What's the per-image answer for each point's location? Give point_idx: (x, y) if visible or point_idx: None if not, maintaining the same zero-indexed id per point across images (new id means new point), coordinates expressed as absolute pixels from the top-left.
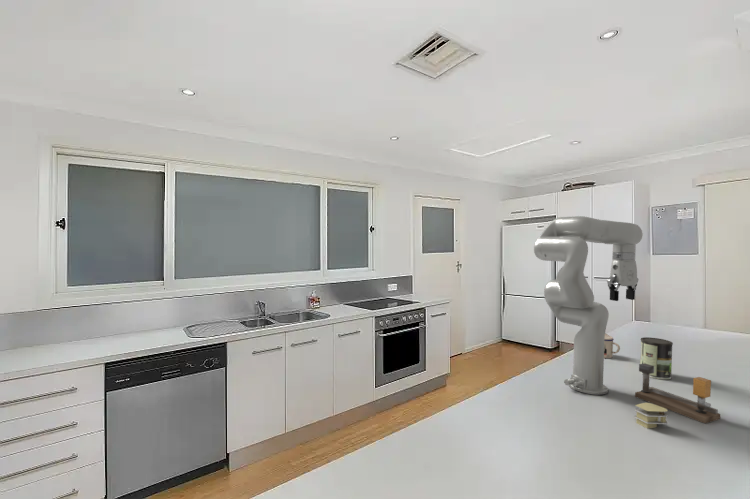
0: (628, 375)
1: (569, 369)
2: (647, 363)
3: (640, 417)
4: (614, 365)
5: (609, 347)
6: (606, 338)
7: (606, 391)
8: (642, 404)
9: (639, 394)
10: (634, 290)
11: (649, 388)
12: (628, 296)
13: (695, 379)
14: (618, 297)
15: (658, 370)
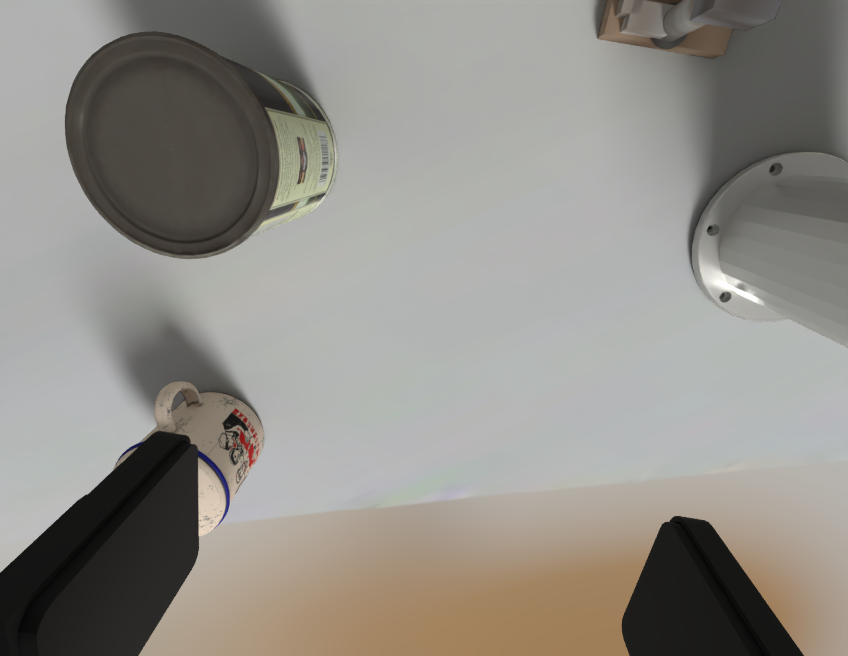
0: (406, 224)
1: (571, 406)
2: (318, 168)
3: None
4: (313, 330)
5: (201, 422)
6: None
7: (800, 152)
8: None
9: (730, 29)
10: (7, 606)
11: (663, 7)
12: (168, 559)
13: None
14: (712, 568)
15: (312, 111)
